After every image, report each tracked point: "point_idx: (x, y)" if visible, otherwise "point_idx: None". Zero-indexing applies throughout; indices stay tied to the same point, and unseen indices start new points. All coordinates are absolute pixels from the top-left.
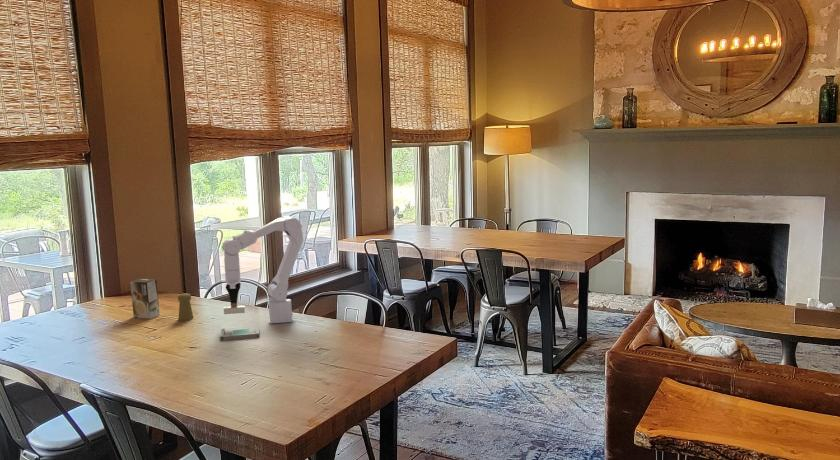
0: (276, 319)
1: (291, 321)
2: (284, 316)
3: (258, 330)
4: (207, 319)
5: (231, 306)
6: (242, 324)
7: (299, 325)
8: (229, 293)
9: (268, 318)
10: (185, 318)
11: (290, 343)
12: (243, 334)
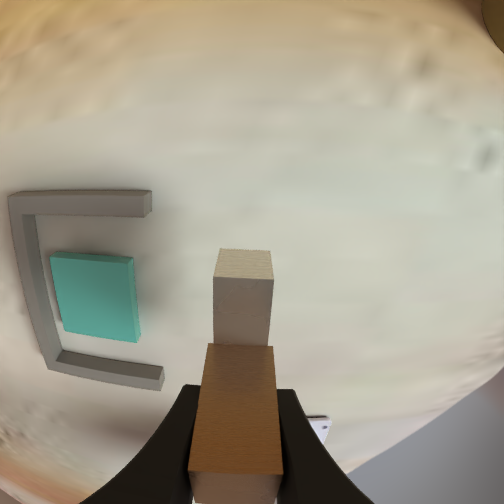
0: None
1: None
2: None
3: (86, 376)
4: (478, 121)
5: (207, 357)
6: (290, 314)
7: None
8: (116, 481)
9: (314, 420)
10: (490, 9)
11: (13, 411)
12: (32, 311)
